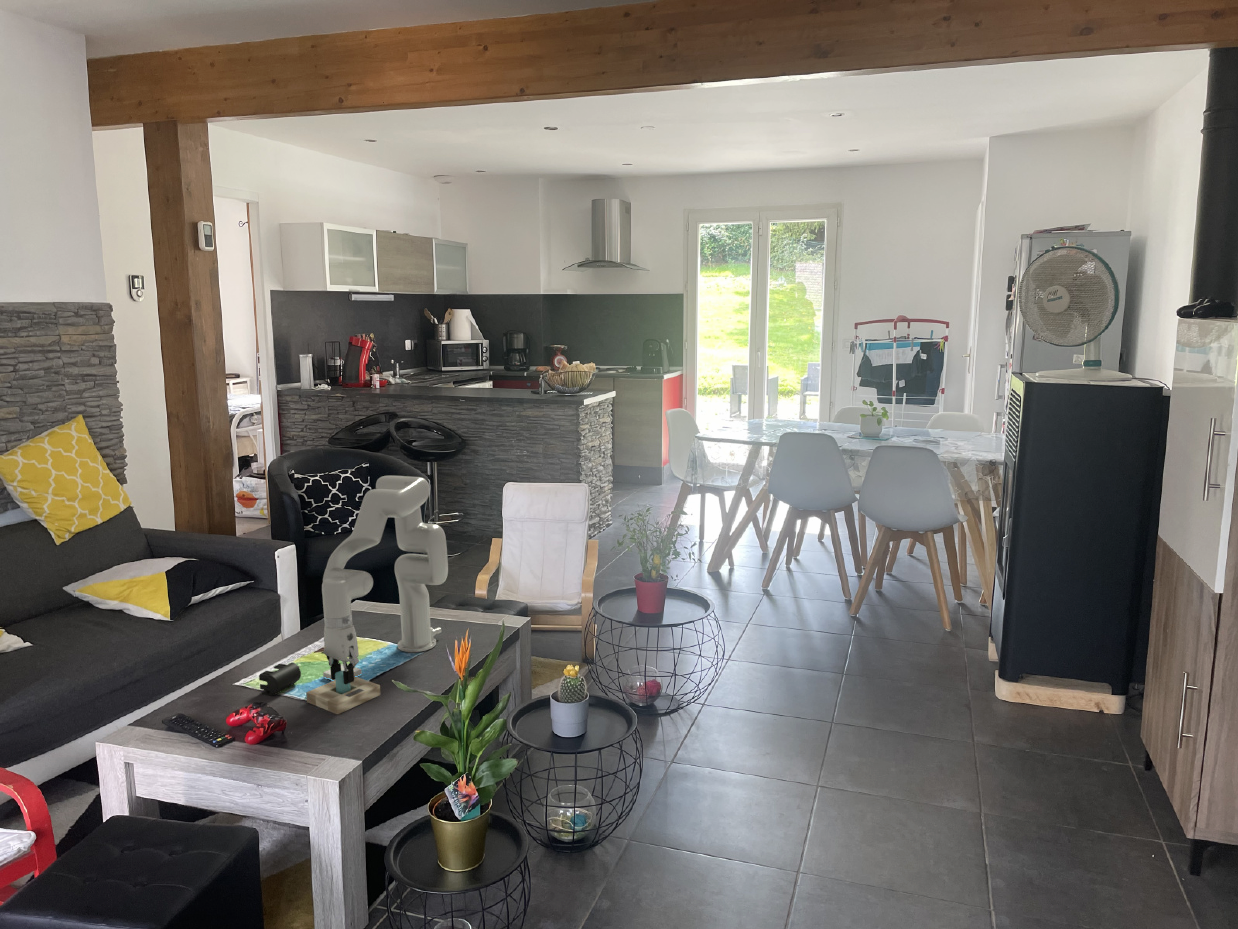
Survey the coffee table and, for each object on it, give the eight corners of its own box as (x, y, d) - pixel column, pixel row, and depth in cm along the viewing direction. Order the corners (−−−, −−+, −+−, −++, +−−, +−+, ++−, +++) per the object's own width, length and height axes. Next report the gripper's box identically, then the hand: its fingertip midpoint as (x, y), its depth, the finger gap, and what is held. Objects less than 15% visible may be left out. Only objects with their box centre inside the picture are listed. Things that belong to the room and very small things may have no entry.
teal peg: (345, 695, 256) (343, 669, 255) (354, 698, 254) (352, 672, 253) (334, 700, 253) (332, 674, 252) (342, 703, 251) (340, 677, 249)
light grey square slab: (345, 669, 274) (344, 663, 274) (361, 675, 269) (361, 669, 269) (323, 678, 268) (323, 672, 267) (340, 684, 263) (339, 678, 263)
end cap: (278, 698, 254) (276, 676, 253) (259, 694, 257) (257, 673, 256) (302, 684, 264) (300, 663, 262) (283, 681, 266) (281, 660, 265)
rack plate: (349, 683, 264) (349, 674, 263) (380, 695, 256) (379, 685, 255) (306, 702, 251) (306, 692, 251) (337, 714, 243) (336, 704, 243)
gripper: (368, 622, 247) (372, 682, 251) (330, 611, 257) (335, 669, 260) (346, 630, 241) (350, 692, 245) (308, 618, 251) (313, 678, 254)
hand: (342, 679), depth 252 cm, fingers open, 5 cm apart
